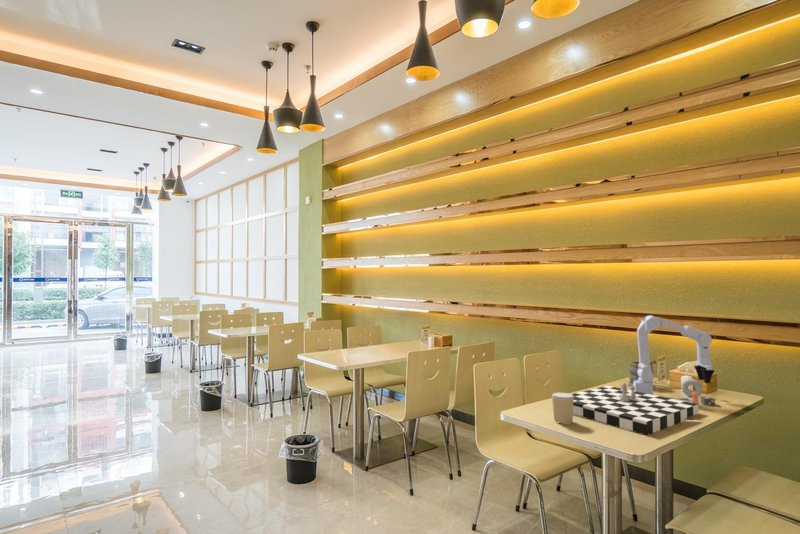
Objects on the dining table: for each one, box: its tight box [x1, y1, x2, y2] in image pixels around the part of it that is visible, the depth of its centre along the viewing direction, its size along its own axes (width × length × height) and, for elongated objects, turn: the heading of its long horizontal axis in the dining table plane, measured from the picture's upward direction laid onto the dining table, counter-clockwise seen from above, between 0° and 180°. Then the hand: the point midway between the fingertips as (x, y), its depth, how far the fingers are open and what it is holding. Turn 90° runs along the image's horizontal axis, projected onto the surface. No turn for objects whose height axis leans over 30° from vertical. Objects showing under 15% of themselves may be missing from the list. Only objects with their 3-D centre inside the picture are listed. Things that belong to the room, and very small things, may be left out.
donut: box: [680, 378, 704, 398], centre depth 243 cm, size 10×4×10 cm, turn 42°
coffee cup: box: [551, 391, 574, 425], centre depth 203 cm, size 9×9×12 cm
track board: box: [677, 397, 703, 410], centre depth 227 cm, size 7×21×1 cm, turn 166°
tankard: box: [627, 359, 658, 388], centre depth 269 cm, size 20×13×15 cm, turn 109°
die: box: [700, 395, 716, 407], centre depth 225 cm, size 4×5×5 cm
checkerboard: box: [571, 382, 699, 436], centre depth 217 cm, size 45×45×15 cm
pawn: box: [691, 392, 701, 408], centre depth 220 cm, size 4×4×7 cm
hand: (704, 381), depth 236 cm, fingers open, 7 cm apart
